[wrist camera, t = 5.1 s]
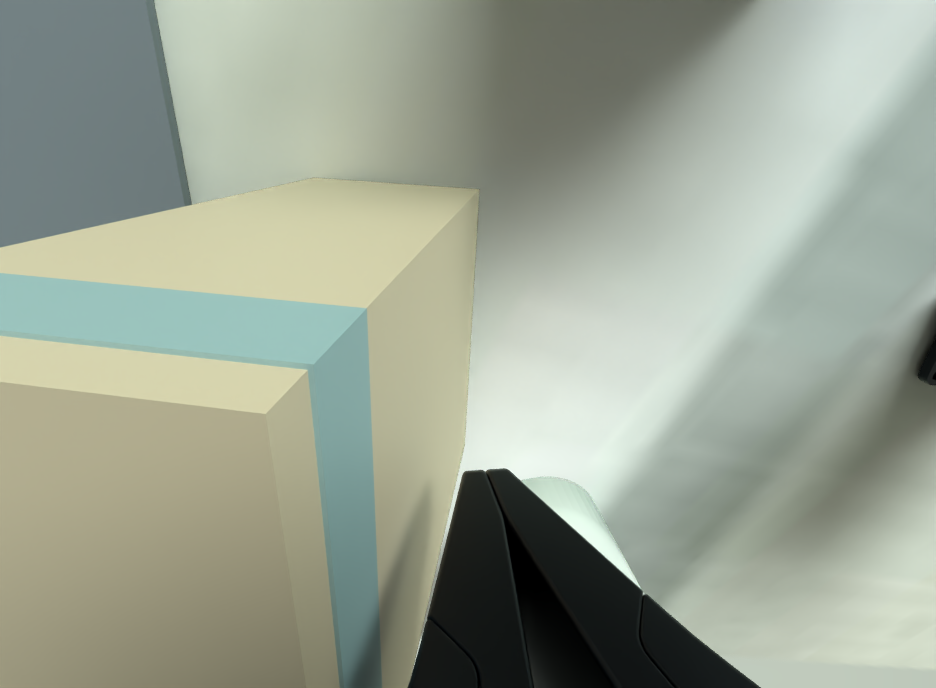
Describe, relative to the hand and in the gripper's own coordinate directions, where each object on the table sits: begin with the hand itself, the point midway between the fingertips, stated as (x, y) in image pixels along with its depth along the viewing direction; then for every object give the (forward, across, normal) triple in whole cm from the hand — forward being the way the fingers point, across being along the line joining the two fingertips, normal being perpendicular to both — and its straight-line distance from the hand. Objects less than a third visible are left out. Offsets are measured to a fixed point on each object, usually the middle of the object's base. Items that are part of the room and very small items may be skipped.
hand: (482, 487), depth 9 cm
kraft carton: (+8, +1, 0) cm, 8 cm away
